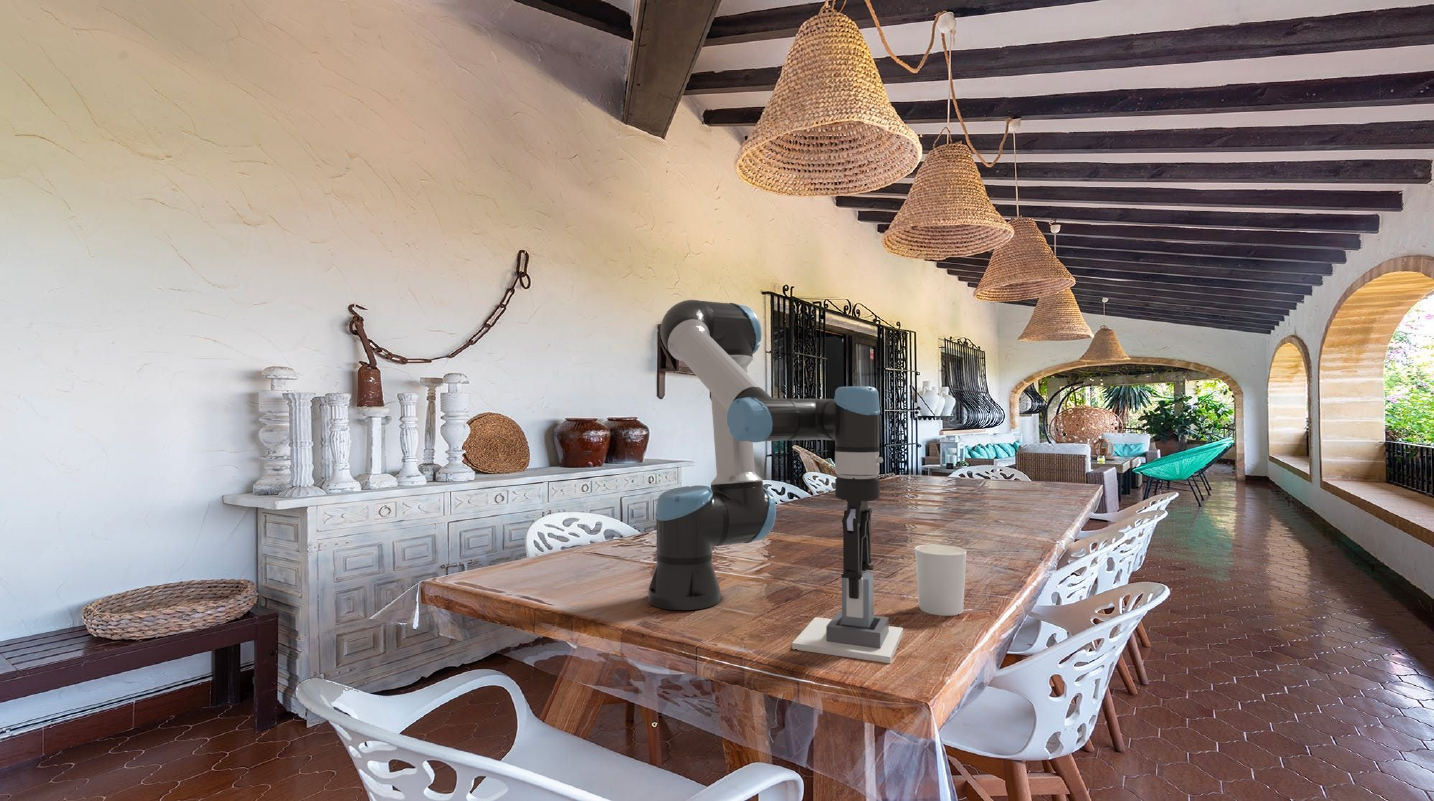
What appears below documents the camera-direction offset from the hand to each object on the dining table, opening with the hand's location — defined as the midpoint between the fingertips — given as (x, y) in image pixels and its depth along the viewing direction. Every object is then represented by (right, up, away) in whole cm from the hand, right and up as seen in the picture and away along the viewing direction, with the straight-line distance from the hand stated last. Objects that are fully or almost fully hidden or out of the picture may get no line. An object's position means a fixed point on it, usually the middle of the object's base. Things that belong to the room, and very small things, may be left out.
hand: (858, 611), depth 113 cm
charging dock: (-1, -5, 0) cm, 5 cm away
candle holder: (+20, -6, +18) cm, 28 cm away
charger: (0, -2, 0) cm, 2 cm away
